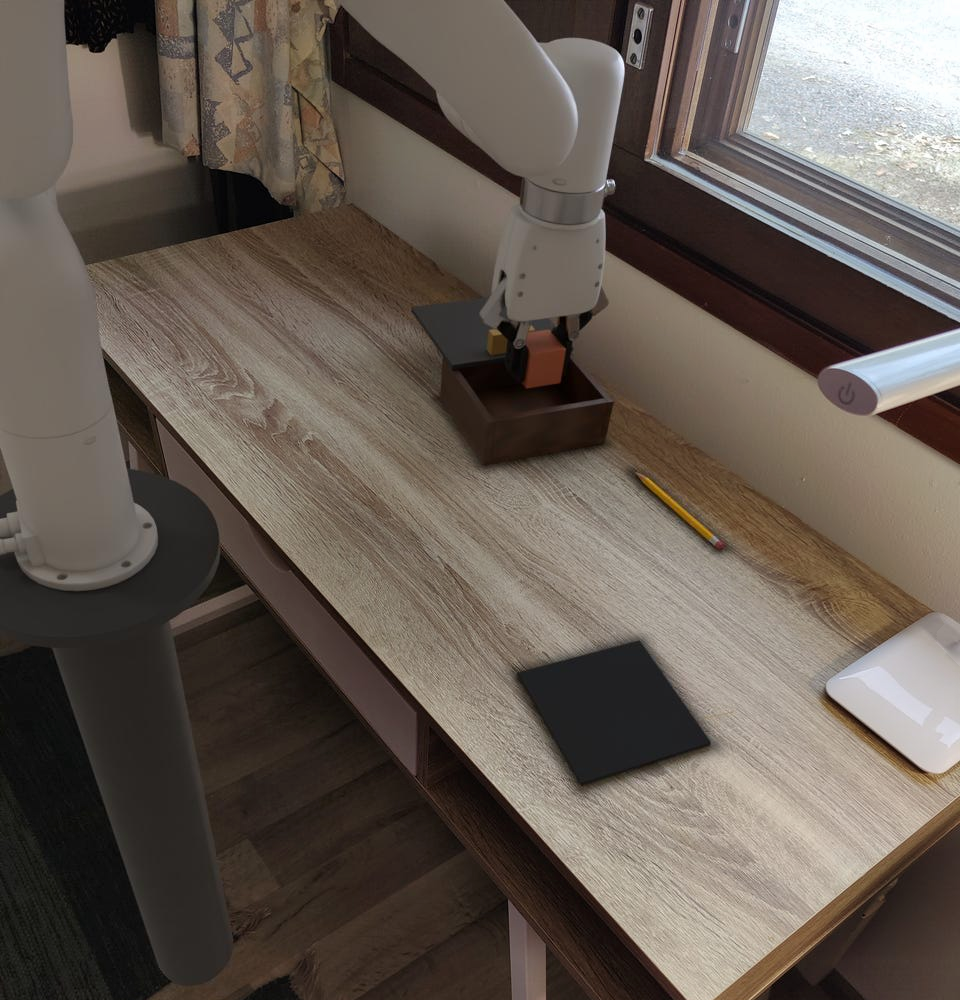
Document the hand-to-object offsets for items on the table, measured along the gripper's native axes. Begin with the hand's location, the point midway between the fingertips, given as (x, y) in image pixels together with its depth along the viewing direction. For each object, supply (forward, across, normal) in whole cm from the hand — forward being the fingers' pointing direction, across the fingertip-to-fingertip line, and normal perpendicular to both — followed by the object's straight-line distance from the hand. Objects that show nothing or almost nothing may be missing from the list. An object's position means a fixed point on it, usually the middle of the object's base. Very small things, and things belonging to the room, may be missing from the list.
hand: (535, 370), depth 104 cm
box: (+7, 0, -2) cm, 7 cm away
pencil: (+8, -9, +17) cm, 21 cm away
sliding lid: (+2, 0, -11) cm, 11 cm away
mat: (+7, +10, +38) cm, 40 cm away
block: (+1, 0, 0) cm, 1 cm away
